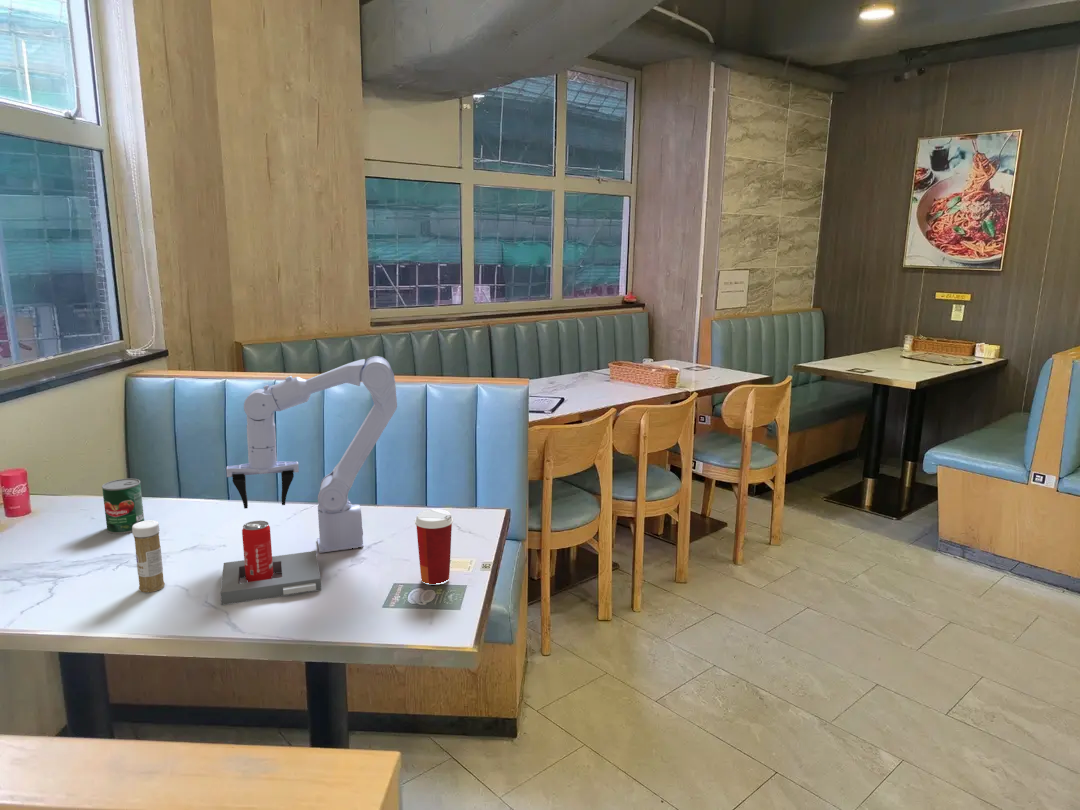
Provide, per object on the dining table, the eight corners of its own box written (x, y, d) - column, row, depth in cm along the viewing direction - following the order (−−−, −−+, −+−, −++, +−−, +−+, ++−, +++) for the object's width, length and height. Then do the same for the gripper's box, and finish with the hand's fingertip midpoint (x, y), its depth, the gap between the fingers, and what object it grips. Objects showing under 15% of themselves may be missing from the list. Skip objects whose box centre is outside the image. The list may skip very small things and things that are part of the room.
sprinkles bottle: (135, 588, 142) (127, 524, 139) (159, 580, 145) (152, 517, 142) (145, 595, 139) (137, 530, 136) (169, 587, 142) (162, 523, 139)
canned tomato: (106, 536, 167) (101, 491, 165) (107, 525, 174) (101, 481, 171) (145, 530, 171) (140, 485, 168) (144, 519, 177) (139, 476, 175)
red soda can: (264, 588, 142) (259, 530, 140) (240, 585, 143) (236, 528, 141) (278, 576, 147) (274, 521, 145) (256, 574, 148) (251, 519, 146)
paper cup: (460, 575, 149) (459, 510, 146) (443, 591, 142) (442, 524, 139) (426, 569, 151) (425, 506, 148) (408, 584, 144) (406, 518, 141)
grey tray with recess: (316, 561, 154) (315, 550, 154) (321, 592, 141) (321, 581, 140) (224, 574, 148) (223, 562, 148) (221, 608, 134) (220, 595, 134)
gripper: (224, 452, 149) (228, 514, 152) (298, 448, 154) (300, 508, 157) (225, 443, 156) (229, 503, 158) (296, 439, 161) (299, 497, 164)
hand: (264, 505), depth 158 cm, fingers open, 7 cm apart
